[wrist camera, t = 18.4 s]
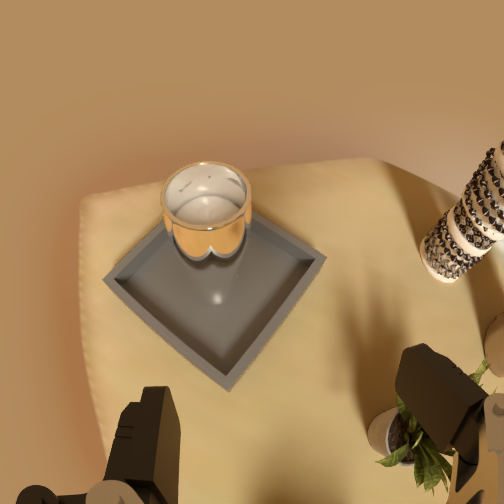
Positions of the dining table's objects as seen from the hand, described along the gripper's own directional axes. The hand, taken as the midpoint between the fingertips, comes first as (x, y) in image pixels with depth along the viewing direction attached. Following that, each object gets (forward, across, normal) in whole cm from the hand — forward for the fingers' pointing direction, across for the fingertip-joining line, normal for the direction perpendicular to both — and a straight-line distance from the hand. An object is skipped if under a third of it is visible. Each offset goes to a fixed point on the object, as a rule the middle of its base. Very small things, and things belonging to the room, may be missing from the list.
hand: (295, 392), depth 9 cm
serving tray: (+26, +3, +6) cm, 26 cm away
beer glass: (+25, +3, +5) cm, 26 cm away
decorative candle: (+26, -30, +6) cm, 40 cm away
